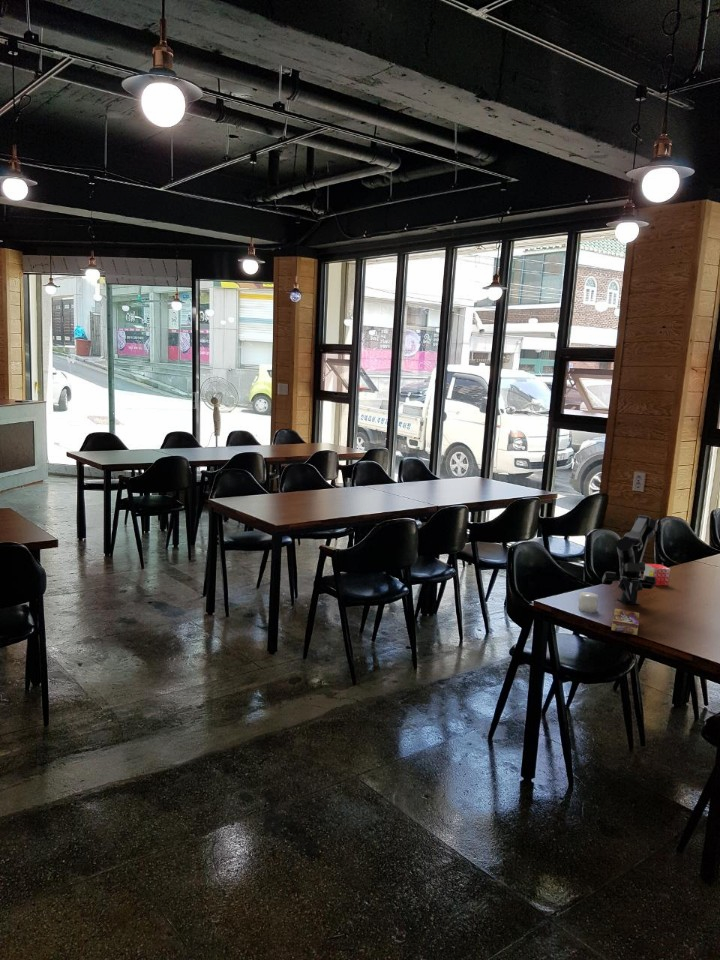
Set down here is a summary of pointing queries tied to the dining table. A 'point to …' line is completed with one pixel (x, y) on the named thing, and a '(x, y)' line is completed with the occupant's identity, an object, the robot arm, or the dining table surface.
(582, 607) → the marshmallow
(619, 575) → the robot arm
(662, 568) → the puzzle cube
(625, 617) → the candy box
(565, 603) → the dining table surface
